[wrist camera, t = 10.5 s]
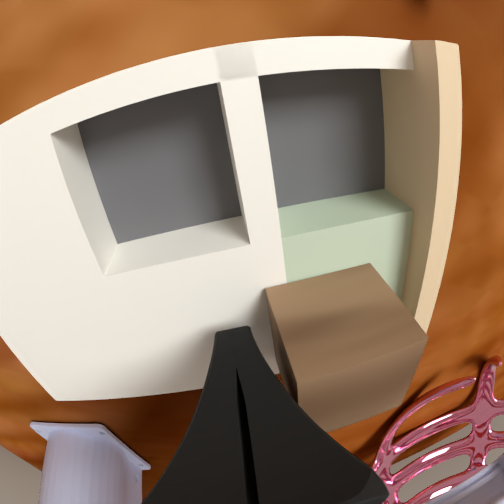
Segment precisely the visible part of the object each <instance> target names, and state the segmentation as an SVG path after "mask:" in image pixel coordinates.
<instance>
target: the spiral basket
mask: <svg viewBox="0 0 504 504" xmlns="http://www.w3.org/2000/svg"><path fill="white" fill-rule="evenodd" d="M501 365H502V359H501V357H500V356H498V355H495V356H492V357H490V358H489V359H488V360H487V361H486V362H485V364H484V366H483V368H482V370H481V373H480V377H479V381H478V386H477V393H476V397H475V400H474V401H473V403H471V404H470V405H468V406H466V407H464V408H461V409H458V410H455V411H452V412H450V413H447V414H444V415H442V416H440V417H437V418H435V419H433V420H431V421H429V422H427V423H425V424H423V425H421V426H419V427H417V428H416V429H414V430H412V431H411V432H409V433H408V434H406V435H405V436H403V437H402V438H400V439H399V440H397V441H396V442H394V443H393V444H392V440H393V438H394V436H395V434H396V432H397V430H398V428H399V427H400V426H401V424H402V423H403V422H404V421H405V420H406V419H407V418H408V417H409V416H410V415H411V414H412V413H414V412H415V411H416V410H418V409H419V408H421V407H422V406H424V405H425V404H427V403H429V402H430V401H432V400H434V399H436V398H438V397H440V396H442V395H445V394H447V393H450V392H452V391H455V390H458V389H461V388H463V387H466V386H469V385H471V384H472V383H474V382H475V380H476V378H475V377H473V376H468V377H463V378H459V379H456V380H453V381H450V382H447V383H445V384H442V385H440V386H438V387H436V388H434V389H432V390H430V391H428V392H426V393H425V394H423V395H422V396H420V397H419V398H417V399H416V400H414V401H413V402H412V403H411V404H410V405H408V406H407V407H406V408H405V409H404V410H403V411H402V412H401V413H400V414H399V415H398V416H397V418H396V419H395V420H394V421H393V423H392V424H391V425H390V427H389V428H388V430H387V431H386V433H385V435H384V437H383V439H382V441H381V443H380V445H379V448H378V451H377V453H376V456H375V458H374V460H373V462H372V464H371V466H370V467H371V468H372V469H373V470H374V471H375V472H376V473H377V475H378V476H379V477H380V478H381V479H382V481H383V482H384V484H385V485H386V487H387V489H388V491H389V496H388V498H387V499H386V500H385V501H384V502H382V504H424V503H426V502H428V501H430V500H432V499H434V498H436V497H437V496H439V495H441V494H443V493H445V492H447V491H448V490H450V489H452V488H454V487H455V486H457V485H459V484H460V483H462V482H464V481H465V480H467V479H468V478H470V477H472V476H473V475H475V474H476V473H478V472H479V471H481V470H482V469H484V468H485V467H487V466H488V465H487V464H486V456H487V454H488V452H489V451H490V450H492V449H495V448H504V431H493V430H492V429H491V427H490V424H491V420H492V419H493V418H494V417H496V416H499V415H504V399H497V398H495V397H494V394H493V390H494V381H495V373H496V367H497V366H501ZM465 422H470V423H471V424H472V431H471V433H470V434H469V435H468V436H467V437H465V438H463V439H460V440H458V441H455V442H452V443H449V444H446V445H444V446H441V447H439V448H437V449H435V450H432V451H431V452H428V453H426V454H425V455H423V456H421V457H419V458H417V459H416V460H414V461H412V462H411V463H410V464H408V465H406V466H405V467H404V468H402V469H401V470H400V471H398V472H397V473H395V474H391V473H390V466H391V464H392V462H393V461H394V459H395V458H396V457H397V456H398V455H400V454H401V453H402V452H404V451H405V450H407V449H408V448H410V447H411V446H413V445H414V444H416V443H418V442H419V441H421V440H423V439H425V438H427V437H429V436H431V435H433V434H435V433H437V432H439V431H442V430H444V429H447V428H449V427H452V426H455V425H457V424H461V423H465ZM460 455H468V456H469V457H470V465H469V467H468V468H467V469H466V470H465V471H464V472H461V473H458V474H456V475H453V476H450V477H448V478H445V479H443V480H441V481H438V482H436V483H435V484H433V485H431V486H429V487H427V488H426V489H424V490H422V491H421V492H419V493H418V494H417V495H415V496H414V497H413V498H411V499H410V500H409V501H407V502H405V503H402V502H401V501H400V500H399V498H398V492H399V490H400V488H401V487H402V486H403V485H404V484H406V483H407V482H408V481H410V480H411V479H412V478H414V477H415V476H417V475H418V474H420V473H422V472H424V471H425V470H427V469H429V468H431V467H433V466H435V465H437V464H439V463H441V462H444V461H446V460H449V459H451V458H454V457H457V456H460Z"/></svg>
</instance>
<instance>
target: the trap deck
mask: <svg viewBox="0 0 504 504" xmlns="http://www.w3.org/2000/svg"><path fill="white" fill-rule="evenodd" d="M461 136H462V88H461V69H460V57H459V47H458V44H454V43H449V42H443V41H438V40H416V41H409V40H400V39H389V38H376V37H354V36H316V37H294V38H280V39H269V40H260V41H251V42H244V43H237V44H230V45H224V46H218V47H212V48H207V49H202V50H197V51H192V52H188V53H183V54H179V55H175V56H171V57H167V58H163V59H159V60H155V61H152V62H148V63H145V64H141V65H138V66H135V67H131V68H128V69H125V70H122V71H119V72H116V73H113V74H110V75H107V76H104V77H102V78H99V79H96V80H94V81H91V82H88V83H86V84H83V85H81V86H78V87H76V88H74V89H71V90H69V91H67V92H64V93H62V94H60V95H57V96H55V97H53V98H51V99H49V100H47V101H45V102H42V103H40V104H38V105H36V106H34V107H32V108H30V109H28V110H27V111H25V112H23V113H21V114H19V115H17V116H15V117H13V118H12V119H10V120H8V121H6V122H5V123H3V124H1V125H0V336H1V337H2V338H3V340H4V341H5V342H6V344H7V345H8V346H9V348H10V349H11V350H12V352H13V353H14V354H15V355H16V357H17V358H18V359H19V360H20V361H21V363H22V364H23V365H24V366H25V367H26V369H27V370H28V371H29V372H30V373H31V374H32V375H33V377H34V378H35V379H36V380H37V381H38V382H39V383H40V384H41V385H42V387H43V388H44V389H45V390H46V391H47V392H48V393H49V394H50V395H51V396H52V397H53V398H54V399H55V400H56V401H75V400H99V399H115V398H128V397H139V396H149V395H158V394H166V393H174V392H182V391H189V390H195V389H202V388H203V387H204V384H205V380H206V376H207V373H208V369H209V365H210V361H211V356H212V351H213V346H214V338H215V334H216V332H217V331H222V330H227V329H232V328H237V327H242V326H246V325H247V326H249V327H251V331H252V334H253V337H254V339H255V342H256V344H257V346H258V348H259V350H260V352H261V353H262V355H263V357H264V359H265V360H266V362H267V364H268V365H269V367H270V368H271V370H272V371H273V373H274V374H279V373H280V372H279V369H278V365H277V362H276V358H275V351H274V345H273V338H272V331H271V325H270V318H269V312H268V305H267V299H266V292H265V288H269V287H273V286H278V285H282V284H286V283H291V282H295V281H299V280H303V279H307V278H311V277H316V276H320V275H324V274H328V273H332V272H336V271H340V270H344V269H348V268H352V267H355V266H359V265H363V264H367V263H370V264H371V265H372V266H373V267H374V268H375V270H376V271H377V272H378V273H379V274H380V276H381V277H382V278H383V279H384V280H385V282H386V283H387V284H388V285H389V287H390V288H391V289H392V290H393V292H394V293H395V294H396V295H397V297H398V298H399V299H400V300H401V302H402V303H403V304H404V306H405V307H406V308H407V309H408V311H409V312H410V313H411V315H412V316H413V317H414V319H415V320H416V321H417V323H418V324H419V325H420V327H421V328H422V329H423V331H424V332H425V333H426V332H427V329H428V326H429V323H430V319H431V316H432V313H433V309H434V306H435V302H436V299H437V295H438V291H439V287H440V283H441V279H442V275H443V271H444V266H445V262H446V257H447V252H448V247H449V242H450V237H451V231H452V225H453V219H454V212H455V205H456V198H457V189H458V180H459V169H460V156H461Z"/></svg>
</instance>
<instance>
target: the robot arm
mask: <svg viewBox="0 0 504 504" xmlns="http://www.w3.org/2000/svg"><path fill="white" fill-rule="evenodd" d="M30 427H31V428H32V429H33V430H35V431H36V432H37V433H38V434H39V435H41V436H42V437H43V438H44V439H46V440H47V446H46V452H45V457H44V463H43V469H42V477H41V484H40V491H39V500H38V504H382V502H384V501H385V500H386V499H387V498H388V496H389V491H388V489H387V487H386V485H385V484H384V482H383V481H382V479H381V478H380V477H379V476H378V475H377V473H376V472H375V471H374V470H373V469H372V468H371V467H370V466H369V465H367V464H366V463H364V462H363V461H361V460H360V459H358V458H357V457H356V456H354V455H353V454H352V453H350V452H349V451H348V450H346V449H345V448H344V447H343V446H341V445H340V444H339V443H338V442H336V441H335V440H334V439H333V438H332V437H331V436H329V435H328V434H327V433H326V432H325V431H324V430H323V429H322V428H321V427H320V426H318V425H317V424H316V423H315V422H314V421H313V420H312V419H311V418H310V417H309V416H308V415H307V414H306V413H305V412H304V410H303V409H302V408H301V407H300V406H299V405H298V404H297V403H296V402H295V400H294V399H293V398H292V397H291V396H290V394H289V393H288V392H287V391H286V389H285V388H284V387H283V385H282V384H281V383H280V381H279V380H278V379H277V377H276V376H275V374H274V373H273V371H272V370H271V368H270V367H269V365H268V364H267V362H266V360H265V359H264V357H263V355H262V353H261V352H260V350H259V348H258V346H257V344H256V342H255V339H254V337H253V334H252V331H251V327H249V326H247V325H246V326H242V327H237V328H232V329H227V330H222V331H217V332H216V334H215V338H214V346H213V351H212V356H211V361H210V365H209V369H208V373H207V376H206V380H205V384H204V387H203V390H202V393H201V396H200V399H199V402H198V405H197V407H196V410H195V413H194V415H193V418H192V420H191V422H190V425H189V427H188V429H187V431H186V433H185V436H184V438H183V440H182V442H181V444H180V445H179V447H178V449H177V451H176V453H175V455H174V457H173V458H172V460H171V462H170V463H169V465H168V466H167V468H166V470H165V471H164V473H163V474H162V476H161V478H160V479H159V481H158V482H157V484H156V485H155V486H154V488H153V489H152V490H151V492H150V493H149V494H148V495H147V497H146V498H145V499H144V501H143V502H142V470H149V469H151V466H150V465H149V464H148V463H147V462H145V461H144V460H143V459H142V458H140V457H139V456H138V455H137V454H136V453H134V452H133V451H132V450H131V449H130V448H128V447H127V446H126V445H125V444H124V443H123V442H121V441H120V440H119V439H118V438H117V437H116V436H115V435H114V434H112V433H111V432H110V431H109V430H108V429H107V428H106V427H105V426H103V425H101V424H68V423H44V422H31V423H30ZM424 504H504V453H503V454H502V455H501V456H500V457H498V459H497V460H495V461H494V462H492V463H491V464H490V465H488V466H487V467H485V468H484V469H482V470H481V471H479V472H478V473H476V474H475V475H473V476H472V477H470V478H468V479H467V480H465V481H464V482H462V483H460V484H459V485H457V486H455V487H454V488H452V489H450V490H448V491H447V492H445V493H443V494H441V495H439V496H437V497H436V498H434V499H432V500H430V501H428V502H426V503H424Z"/></svg>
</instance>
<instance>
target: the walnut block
mask: <svg viewBox="0 0 504 504" xmlns="http://www.w3.org/2000/svg"><path fill="white" fill-rule="evenodd" d="M265 292H266V299H267V305H268V312H269V318H270V325H271V331H272V338H273V345H274V351H275V358H276V362H277V365H278V369H279V372H280V375H281V378H282V382H283V385H284V388H285V389H286V391H287V392H288V393H289V394H290V396H291V397H292V398H293V399H294V400H295V402H296V403H297V404H298V405H299V406H300V407H301V408H302V409H303V410H304V412H305V413H306V414H307V415H308V416H309V417H310V418H311V419H312V420H313V421H314V422H315V423H316V424H317V425H318V426H320V427H321V428H322V429H323V430H324V431H325V432H330V431H333V430H336V429H339V428H342V427H345V426H348V425H351V424H354V423H356V422H359V421H362V420H365V419H367V418H370V417H373V416H375V415H378V414H380V413H383V412H385V411H388V410H390V409H393V408H395V407H397V406H400V405H401V403H402V401H403V399H404V397H405V395H406V392H407V390H408V388H409V386H410V383H411V381H412V379H413V376H414V374H415V372H416V369H417V367H418V364H419V362H420V359H421V357H422V354H423V351H424V349H425V346H426V343H427V340H428V338H429V337H428V336H427V335H426V333H425V332H424V331H423V329H422V328H421V327H420V325H419V324H418V323H417V321H416V320H415V319H414V317H413V316H412V315H411V313H410V312H409V311H408V309H407V308H406V307H405V306H404V304H403V303H402V302H401V300H400V299H399V298H398V297H397V295H396V294H395V293H394V292H393V290H392V289H391V288H390V287H389V285H388V284H387V283H386V282H385V280H384V279H383V278H382V277H381V276H380V274H379V273H378V272H377V271H376V270H375V268H374V267H373V266H372V265H371V264H370V263H367V264H363V265H359V266H355V267H352V268H348V269H344V270H340V271H336V272H332V273H328V274H324V275H320V276H316V277H311V278H307V279H303V280H299V281H295V282H291V283H286V284H282V285H278V286H273V287H269V288H265Z"/></svg>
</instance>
